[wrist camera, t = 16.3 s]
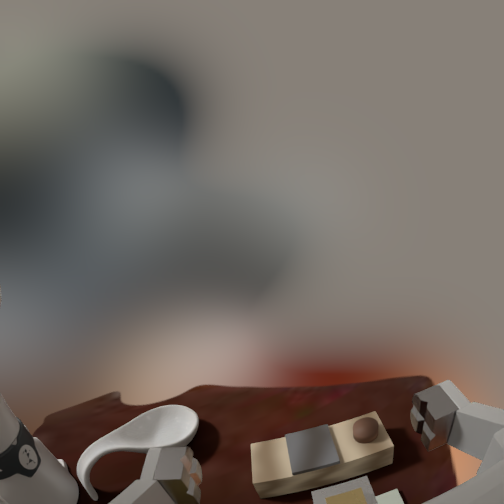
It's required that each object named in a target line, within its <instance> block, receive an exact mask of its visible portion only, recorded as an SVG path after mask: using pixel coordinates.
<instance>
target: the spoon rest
mask: <svg viewBox="0 0 504 504" xmlns="http://www.w3.org/2000/svg"><path fill="white" fill-rule="evenodd" d="M198 425H199V418H198V415H197V414H196V413H195V412H194V411H193V410H191V409H190V408H188V407H185V406H181V405H167V406H161V407H158V408H155V409H152V410H149V411H147V412H145V413H143V414H141V415H140V416H138V417H136V418H135V419H133V420H131V421H130V422H128V423H127V424H125V425H123V426H121V427H120V428H118V429H116V430H114V431H113V432H111V433H109V434H107V435H105V436H104V437H102V438H100V439H99V440H97V441H96V442H94V443H93V444H91V445H90V446H89V447H88V448H87V449H86V450H85V451H84V453H83V454H82V455H81V457H80V459H79V461H78V464H77V474H78V478H79V480H80V482H81V483H82V485H83V486H84V488H85V489H86V491H87V492H88V494H89V495H90V496H91V498H92V499H93V500H95V501H97V500H98V495H97V493H96V491H95V490H94V488H93V487H92V485H91V483H90V479H89V475H90V471H91V469H92V467H93V465H94V464H95V463H96V462H97V461H98V460H99V459H100V458H101V457H102V456H104V455H106V454H108V453H111V452H116V451H130V452H138V453H145V454H147V453H148V450H149V449H150V448H170V447H185V446H186V445H187V444H188V443H189V442H190V441H191V440H192V439H193V437H194V436H195V434H196V432H197V429H198Z"/></svg>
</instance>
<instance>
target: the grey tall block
mask: <svg viewBox="0 0 504 504" xmlns="http://www.w3.org/2000/svg"><path fill="white" fill-rule="evenodd" d="M311 493H312V498H313V502H314V504H378V503H377V500H376V498H375V495H374V492H373V490H372V487H371V485H370V482H369V480H368V477H367V476H364V477H361V478H358V479H355V480H352V481H348V482H345V483H341V484H338V485H334V486H331V487H327V488H323V489H319V490H315V491H311Z"/></svg>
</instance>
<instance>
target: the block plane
mask: <svg viewBox="0 0 504 504" xmlns="http://www.w3.org/2000/svg"><path fill="white" fill-rule="evenodd" d="M393 452H394V445H393V443H392V441H391V439H390V437H389V435H388V434H387V432H386V430H385V428H384V426H383V424H382V422H381V421H380V419H379V417H378V415H377V413H376V412H375V411H374V412H372V413H369V414H366V415H363V416H360V417H357V418H354V419H351V420H347V421H344V422H341V423H338V424H334V425H331V426H328V425H327V424H326V425H322V426H318V427H315V428H311V429H307V430H303V431H299V432H295V433H290V434H286V435H285V437H284V438H279V439H274V440H269V441H264V442H259V443H254V444H251V458H252V476H253V485H254V487H255V489H256V491H257V493H258V495H259V496H260V498H268V497H274V496H279V495H284V494H290V493H294V492H299V491H304V490H308V489H312V488H316V487H320V486H324V485H328V484H332V483H335V482H339V481H342V480H345V479H349V478H352V477H355V476H358V475H361V474H364V473H367V472H370V471H373V470H376V469H379V468H381V467H384V466H387V465H389V464H392V463H393Z"/></svg>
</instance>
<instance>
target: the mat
mask: <svg viewBox="0 0 504 504" xmlns="http://www.w3.org/2000/svg"><path fill="white" fill-rule="evenodd" d="M375 498H376V500H377V503H378V504H404V502H403V500H402V498H401V496H400V494H399V492H398V489H395V490H392V491H390V492H387V493H384V494H382V495H379V496H376V497H375Z"/></svg>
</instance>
